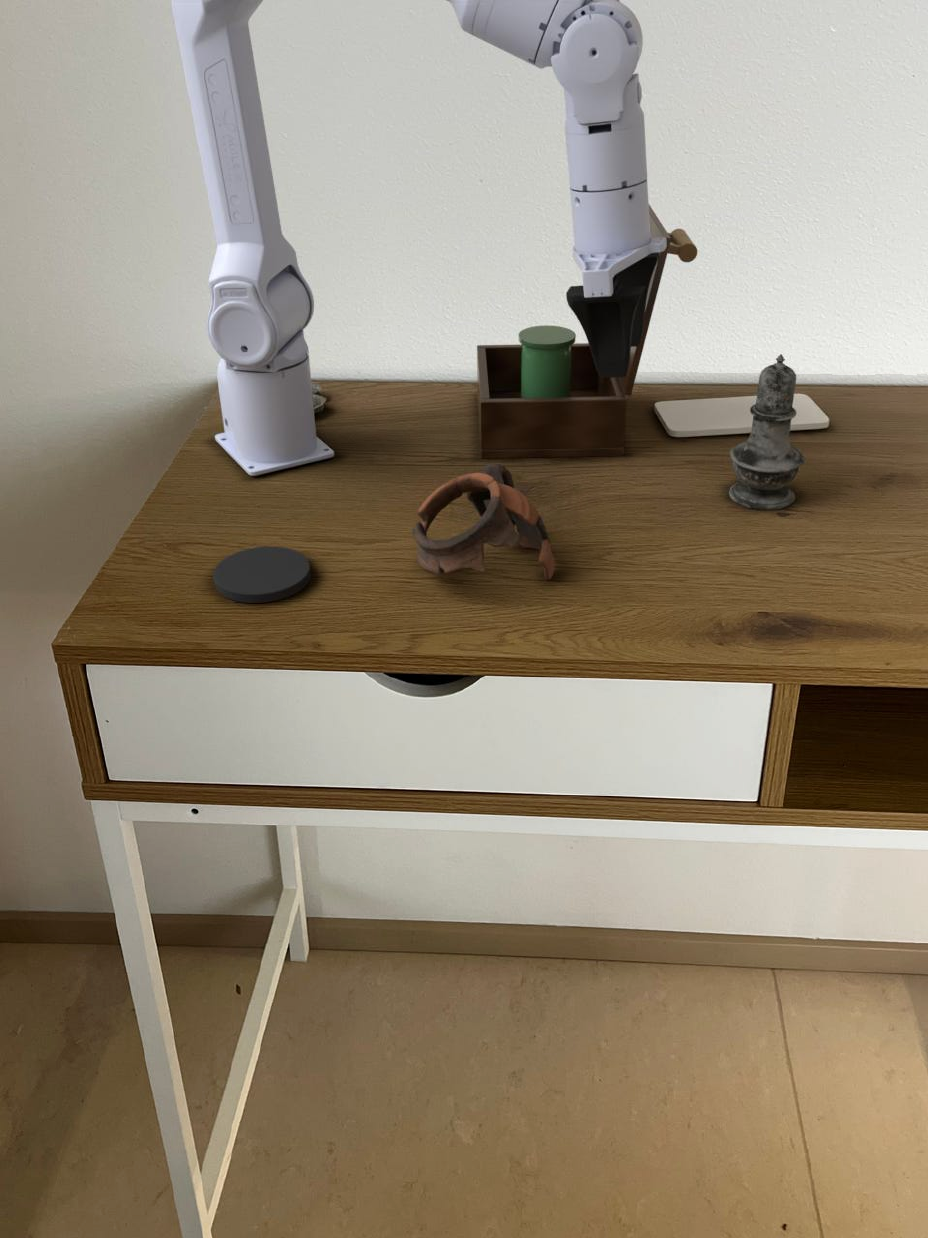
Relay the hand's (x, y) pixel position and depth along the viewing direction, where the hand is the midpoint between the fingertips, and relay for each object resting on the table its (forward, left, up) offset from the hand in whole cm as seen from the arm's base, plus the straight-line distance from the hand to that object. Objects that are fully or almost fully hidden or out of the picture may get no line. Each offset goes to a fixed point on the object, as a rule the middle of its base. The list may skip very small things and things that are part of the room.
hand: (620, 360), depth 92 cm
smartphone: (-4, +18, -11) cm, 21 cm away
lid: (-9, +8, +2) cm, 12 cm away
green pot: (-14, +2, -10) cm, 17 cm away
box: (-13, +2, -10) cm, 16 cm away
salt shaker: (+9, +9, -11) cm, 16 cm away
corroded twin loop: (-29, -16, -11) cm, 35 cm away
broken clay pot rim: (+7, -16, -11) cm, 21 cm away
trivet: (0, -32, -10) cm, 33 cm away
